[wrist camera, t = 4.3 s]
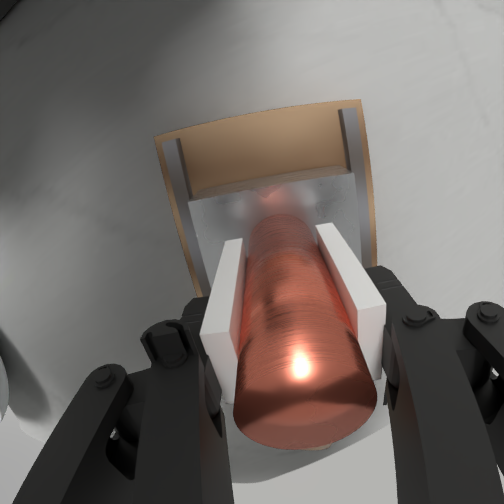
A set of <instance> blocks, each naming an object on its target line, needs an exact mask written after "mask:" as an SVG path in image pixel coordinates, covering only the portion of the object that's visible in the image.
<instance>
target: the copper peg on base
mask: <svg viewBox="0 0 504 504" xmlns="http://www.w3.org/2000/svg"><path fill="white" fill-rule="evenodd" d="M188 206H189V209H190V213H191V217H192V221H193V225H194V229H195V233H196V236H197V240H198V244H199V247H200V251H201V255H202V258H203V262H204V266H205V269H206V273H207V276H208V280H209V283H210V287H211V290H212V287H213V283H214V280H215V276H216V273H217V269H218V265H219V262H220V258H221V255H222V251H223V248H224V244H225V241H228V240H234V239H239V238H243V242H244V247H245V251H246V256H247V267H246V278H245V289H244V299H243V310H242V321H241V331H240V342H239V353H238V364H237V375H236V386H235V397H234V408H233V417H234V421H235V423H236V425H237V427H238V428H239V429H240V431H241V432H242V433H243V434H244V435H246V436H247V437H248V438H250V439H251V440H253V441H255V442H257V443H260V444H262V445H265V446H269V447H273V448H279V449H292V450H296V449H309V448H315V447H320V446H324V445H327V444H330V443H333V442H336V441H338V440H340V439H342V438H344V437H346V436H348V435H350V434H351V433H353V432H354V431H356V430H357V429H358V428H360V427H361V426H362V425H363V424H364V423H365V422H366V421H367V420H368V419H369V417H370V416H371V414H372V413H373V411H374V409H375V406H376V403H377V391H376V388H375V385H374V382H373V379H372V377H371V374H370V371H369V369H368V366H367V363H366V361H365V358H364V355H363V353H362V350H361V348H360V345H359V343H358V340H357V338H356V335H355V332H354V330H353V327H352V325H351V323H350V320H349V318H348V315H347V313H346V310H345V308H344V305H343V303H342V301H341V298H340V296H339V294H338V291H337V289H336V287H335V284H334V282H333V280H332V277H331V275H330V273H329V270H328V268H327V266H326V264H325V261H324V259H323V257H322V255H321V252H320V250H319V248H318V243H317V236H316V228H315V225H320V224H326V223H333V224H334V226H335V227H336V229H337V230H338V231H339V233H340V234H341V236H342V237H343V239H344V240H345V242H346V243H347V244H348V246H349V247H350V249H351V250H352V252H353V253H354V255H355V256H356V258H357V259H358V261H359V262H360V264H361V265H362V259H361V241H360V227H359V215H358V204H357V193H356V184H355V175H354V173H353V172H351V171H349V170H348V169H346V168H344V167H342V166H340V165H336V166H329V167H322V168H315V169H309V170H302V171H296V172H290V173H284V174H278V175H272V176H266V177H261V178H255V179H250V180H245V181H239V182H234V183H229V184H224V185H219V186H214V187H210V188H205V189H200V190H199V191H198V192H197V193H196V194H195V195H194V196H193V197H192V198H191V199H190V200H189V201H188Z"/></svg>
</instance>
